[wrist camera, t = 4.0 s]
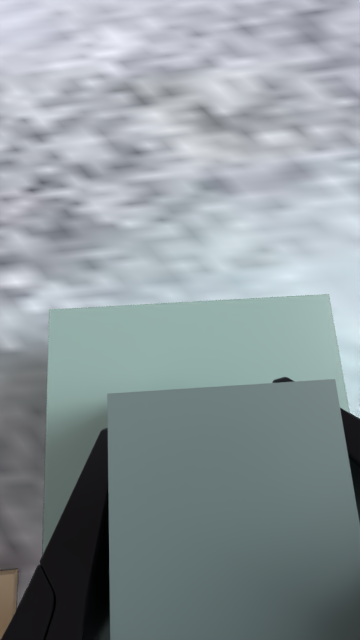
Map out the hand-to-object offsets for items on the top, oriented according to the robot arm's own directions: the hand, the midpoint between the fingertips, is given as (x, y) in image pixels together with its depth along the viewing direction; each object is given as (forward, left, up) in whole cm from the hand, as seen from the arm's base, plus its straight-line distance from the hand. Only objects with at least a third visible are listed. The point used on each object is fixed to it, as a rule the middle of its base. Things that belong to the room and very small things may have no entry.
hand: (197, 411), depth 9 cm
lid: (-1, 0, -5) cm, 5 cm away
